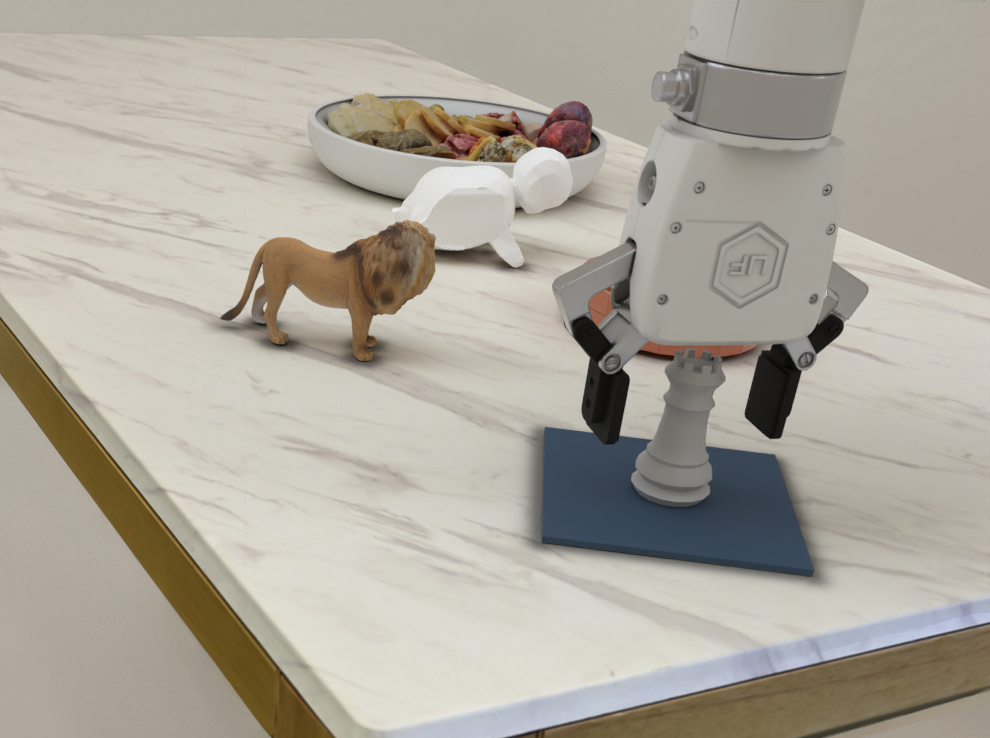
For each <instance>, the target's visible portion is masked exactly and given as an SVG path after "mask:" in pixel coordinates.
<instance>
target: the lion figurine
mask: <svg viewBox="0 0 990 738" xmlns="http://www.w3.org/2000/svg"><path fill="white" fill-rule="evenodd" d="M435 240H436V236H435V235H434V234H431V233H429V230H428V228H426V227H423V225H422V224H420V223H419V222H415V221H410V220H405V221H403V222H396V221H395V223H393V224H390V225H388V226H387V227H386V228H385V229H382V230H381V231H379V232H378V233H377V234H373V235H369V236H368V237H366V238H360V239H357V240H355V241H353V242H352V243H351V244H349V245H348V246H347V247H345V248H344V249H341V250H338V251H335V252H334V251H327V250H323V249H320V248H317V247H313V246H311V245H310V244H308V243H306V242H304V241H302V240H300V239H298V238H295V237H291V236H290V237H288V236H287V237H284V236H277V237H274V238H271V239H269V240H267V241H266V242H264V243H263V244H262V246H260V248H259V249H258V251H257V252H256V254H255V256H254V258H253V260H252V263H251V266H250V269H249V273H248V276H247V279H246V283H245V286H244V289H243V292H242V295H241V298H240V300H239V301H238V302H237V304H236V305H235V306H234V307H233V308H230V309H229V310H227V311H226V312H225V313H223V314H222V315H221V316H220V317H219V319H220V320H222V321H226V322H230V321H233V320H235V319H236V318H237V317H238V316H240V314H241V313H242V312H243V310H244V308H245V306H246V305H247V303H248V301H249V299H250V297H251V294H252V292H253V290H254V287H255V284H256V282H257V278H258V276H259V274H260V271H261V269H262V278H263V284H261V285H260V286H259V287H257V288H256V290H255V291H254V295H253V301H252V304H251V310H250V311H251V312H250V313H251V318H252V320H253V321H254V322H256V323H259V324H263V325H264V324H266V327H267V330H268V337H269V339H270V341H271V342H272V343H274V344H276V345H285V344H286V343H288V342H289V339H290V338H289V334H288V333H286V332H283V331H281V330H280V327H279V324H278V313H279V310H280V308H281V305H282V304H283V301H284V298H285V296H286V294H287V291H288V290H289V289H290V288H291V287H293V286H294V287H295V288H297V289H298V290H299V291H300V292H301V293H302V294H303V296H305V298H307V299H308V300H310V301H311V302H313V303H314V304H317V305H319V306H321V307H325V308H330V309H340V310H348V313H349V316H350V320H351V332H352V333H351V334H352V341H351V344H352V352H353V355H354V357H355V358H356V359H357V360H358V361H361V362H369V361H371V360H373V358H374V357H373V356H374V352H373V351H372V350H370V349H369V348H373V347H375V346H377V344H378V340H377V338H376V337H375V336H374V335H369V331H370V327H371V324H372V322H373V318H374V317H376V316H378V315H379V316H383V315H389V316H394V315H396V314H397V312H398V311H400V310H401V309H402V307H403V306H404V305H406V303H407V302H408V301H411V300H413V299H414V298H416V297H417V296H420V295H422V294H423V293H424V292H425V291H426V290H428V288H429V285H430V283H432V280H433V278H434V275H435V273H436V255H435V253H436V250H435V249H434V246H435ZM265 305H266V306H265ZM264 307H266V308H265V309H264Z"/></svg>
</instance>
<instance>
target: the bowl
mask: <svg viewBox="0 0 990 738" xmlns="http://www.w3.org/2000/svg"><path fill="white" fill-rule="evenodd" d="M307 134H308V139H309V143H310V146H311V149H312V151H313V152H314V154H315V156H316V158H317V159H318V160H319V161H320V162H321V164H323V166H324V167H325V168H327V170H329V171H330V173H331V172H332V174H334V175H335V176H337V177H339V178H341V179H342V180H345V181H346V182H348V183H350V184H352V185H354V186H357V187H360V188H361V189H364V190H368V191H371V192H374V193H377V194H379V195H384V196H388V197H392V198H397V199H401V200H405V199H406V198H407V197H408V196H409V195H410V194H411V193H412V192H413V190H414V189H415V187H416V185H417V184H418V182H419V181H420V179H421V178H422V177H423V176H424V175H425V174H427V173H428V172H429V171H431V170H433V169H435V168H438V167H467V166H477V165H488V166H493V167H496V168H499V169H501V170H502V171H503V172H504V173H505V174H506V175H507V176H508V177H509V179H510V178H513V168H514V165H515V164H516V162H517V161H518V159H520V158H521V157H522V156H523V155H524V154H525V153H527V152H529V151H530V150H532V149H534V148H539V147H546V148H551V149H554V150H556V151H558V152H560V153H561V154H563V155H564V156H565V157H566V159H567V160H568V162H569V165H570V169H571V173H572V178H573V184H572V189H571V192H570V194H569V197H568V198H570V197H572V196H574V195H576V194H578V193H580V192H581V191H582V190H584V189H586V187H588V186H589V185H590V184H591V183H592V182H593V180H595V178H596V177H597V175H598V174H599V172H600V171H601V169H602V168H603V167H602V166H603V165H604V161H605V157H606V153H607V147H608V143H607V140H606V138H605V137H604V136H603V135H602V134H601V133H600V132H598V131H597V130H596V129H594V128H593V115H592V112H591V111H590V109H589V107H588V105H586V104H584V103H583V102H582V101H581V102H580V101H576V100H571V101H567V102H563V103H561V104H560V105H558V106H557V107H555V108H554V109H553V110H551V112H548V111H543V110H539V109H535V108H531V107H526V106H522V105H516V104H511V103H506V102H505V103H504V102H498V101H493V100H492V101H491V100H484V99H477V98H470V97H469V98H468V97H459V96H449V95H431V94H408V93H407V94H404V93H403V94H402V93H401V94H399V93H398V94H397V93H395V94H391V93H390V94H374V93H369V92H365V93H364V94H358V95H357V94H355V95H354V96H348V97H342V98H341V97H340V98H337V99H332V100H328V101H325V102H323V103H320V104H318V105H316V106H314V107H313V108H312V109H311V110H309V112H308V115H307ZM517 208H518V209H519V208H522V206H521V205H520V203H519V202H518V200H517V201H516V202H515V209H517Z"/></svg>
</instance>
